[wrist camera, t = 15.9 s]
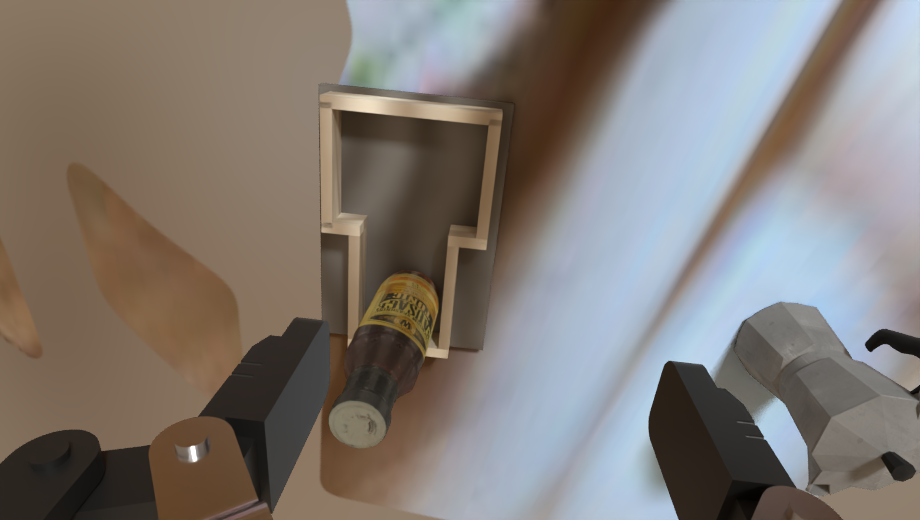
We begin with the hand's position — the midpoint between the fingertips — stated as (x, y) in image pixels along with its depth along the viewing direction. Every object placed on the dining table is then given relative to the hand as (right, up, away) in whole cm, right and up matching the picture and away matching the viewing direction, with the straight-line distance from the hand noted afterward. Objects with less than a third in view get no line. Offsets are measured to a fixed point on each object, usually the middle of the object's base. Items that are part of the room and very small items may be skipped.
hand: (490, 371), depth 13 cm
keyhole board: (-6, +6, +39) cm, 40 cm away
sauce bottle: (-6, -1, +41) cm, 41 cm away
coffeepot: (+33, -5, +41) cm, 53 cm away
